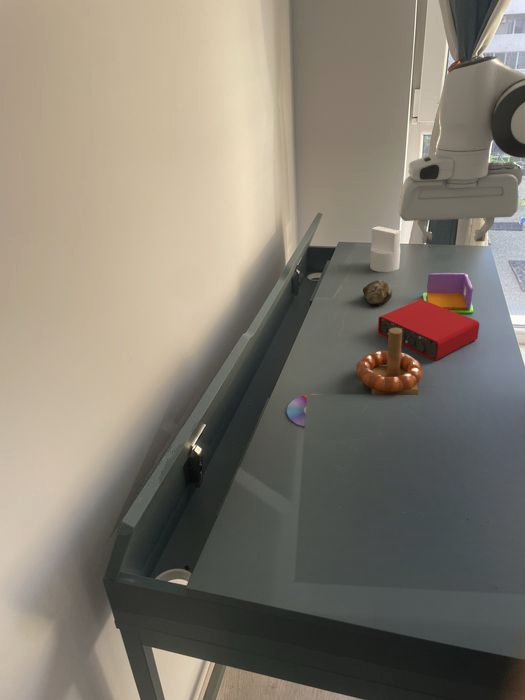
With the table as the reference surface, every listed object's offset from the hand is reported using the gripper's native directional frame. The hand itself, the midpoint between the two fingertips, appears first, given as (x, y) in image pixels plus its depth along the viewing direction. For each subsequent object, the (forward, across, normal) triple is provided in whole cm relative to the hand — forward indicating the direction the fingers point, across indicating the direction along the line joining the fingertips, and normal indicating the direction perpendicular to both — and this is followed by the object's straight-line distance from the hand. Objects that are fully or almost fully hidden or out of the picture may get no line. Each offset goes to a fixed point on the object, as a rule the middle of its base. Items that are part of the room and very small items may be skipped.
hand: (452, 241), depth 98 cm
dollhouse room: (+29, -8, -34) cm, 46 cm away
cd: (+29, +26, +14) cm, 41 cm away
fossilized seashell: (+29, +10, -37) cm, 48 cm away
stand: (+29, +10, +4) cm, 31 cm away
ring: (+26, +11, +4) cm, 29 cm away
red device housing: (+29, 0, -16) cm, 33 cm away
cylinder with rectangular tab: (+29, +6, -62) cm, 69 cm away
